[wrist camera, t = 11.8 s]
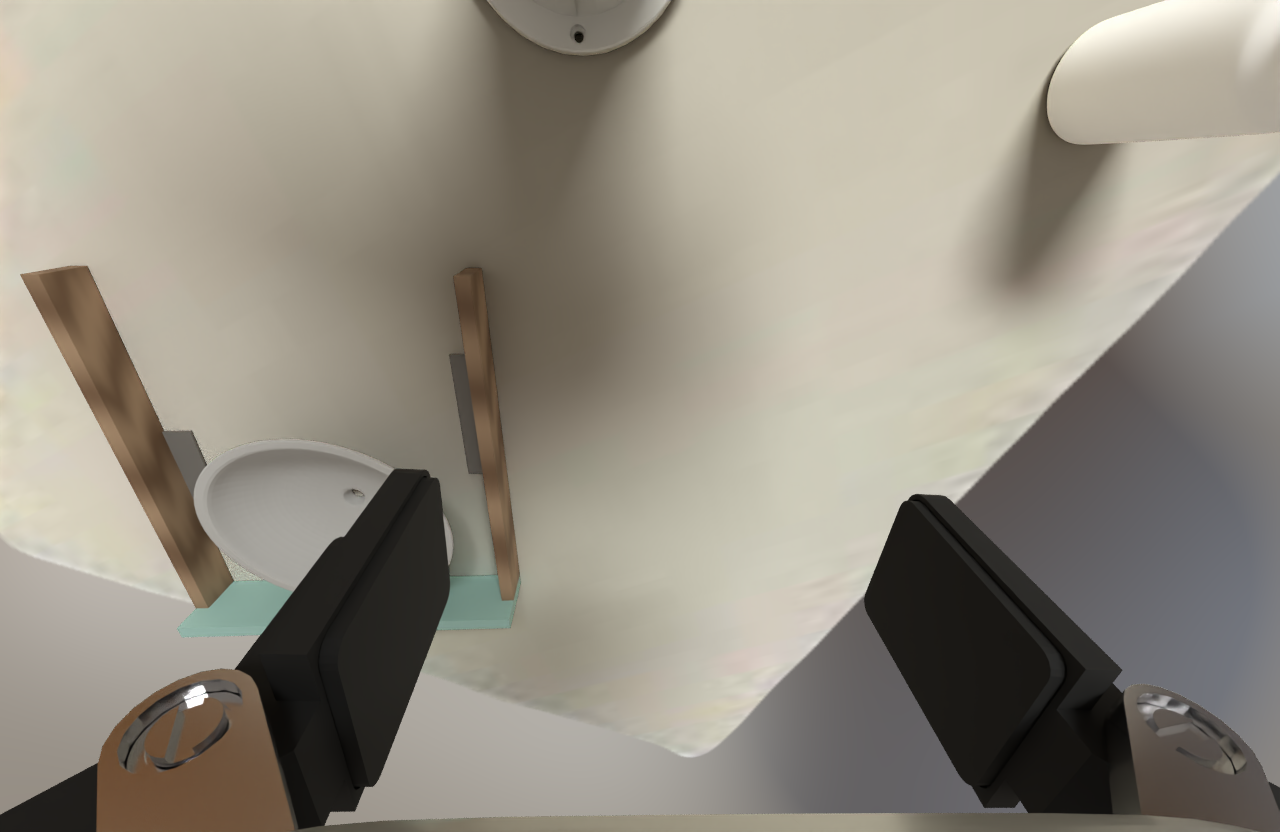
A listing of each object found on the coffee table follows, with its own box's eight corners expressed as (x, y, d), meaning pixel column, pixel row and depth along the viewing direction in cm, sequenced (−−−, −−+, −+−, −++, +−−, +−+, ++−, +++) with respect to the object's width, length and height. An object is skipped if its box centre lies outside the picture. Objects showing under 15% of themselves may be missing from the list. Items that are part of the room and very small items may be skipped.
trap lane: (70, 265, 32) (-20, 281, 27) (481, 268, 33) (460, 283, 28) (225, 590, 44) (181, 637, 40) (520, 583, 45) (510, 628, 41)
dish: (488, 447, 39) (471, 483, 35) (452, 578, 45) (434, 623, 40) (244, 378, 36) (191, 408, 31) (239, 529, 41) (193, 573, 37)
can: (1046, 164, 32) (1268, 160, 21) (1035, 54, 29) (1282, -16, 18) (1153, 113, 31) (1443, 80, 20) (1151, -7, 28) (1486, -119, 17)
